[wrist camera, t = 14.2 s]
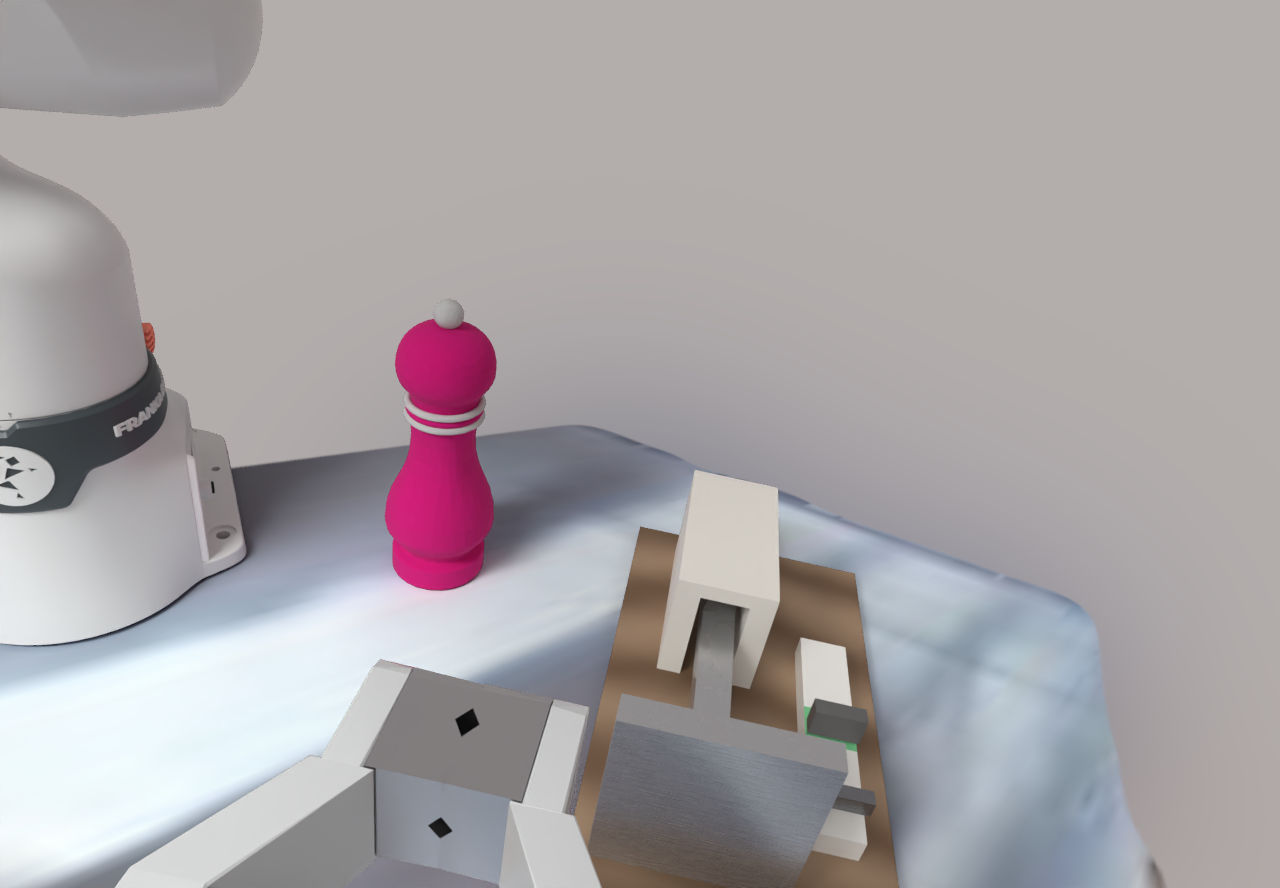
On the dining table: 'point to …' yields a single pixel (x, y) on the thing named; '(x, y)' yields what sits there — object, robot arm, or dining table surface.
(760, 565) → the block
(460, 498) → the pepper mill
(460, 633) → the dining table surface
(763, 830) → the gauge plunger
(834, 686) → the gauge scale
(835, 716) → the block
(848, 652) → the board
